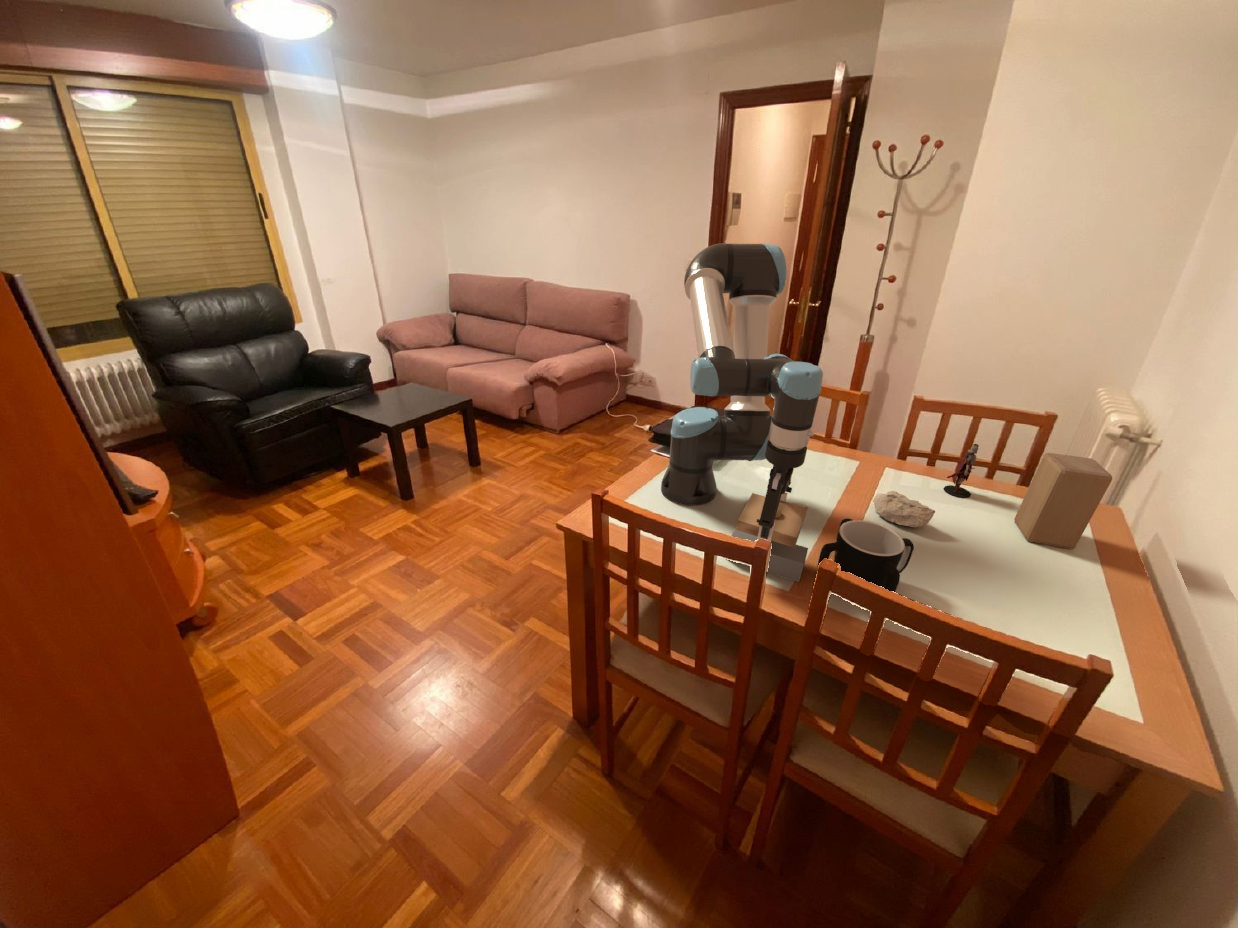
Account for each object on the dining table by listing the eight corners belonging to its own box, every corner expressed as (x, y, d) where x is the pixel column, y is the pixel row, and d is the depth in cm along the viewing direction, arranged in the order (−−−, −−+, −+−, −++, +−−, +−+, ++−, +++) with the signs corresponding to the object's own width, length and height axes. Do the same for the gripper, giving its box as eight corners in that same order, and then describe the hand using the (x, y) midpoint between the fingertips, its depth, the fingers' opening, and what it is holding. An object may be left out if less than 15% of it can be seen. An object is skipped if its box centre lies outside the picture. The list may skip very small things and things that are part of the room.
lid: (736, 530, 105) (738, 516, 103) (750, 502, 114) (753, 489, 112) (794, 547, 100) (798, 533, 98) (805, 516, 109) (808, 503, 108)
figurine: (971, 500, 136) (991, 451, 129) (940, 493, 139) (958, 445, 132) (970, 489, 141) (989, 442, 134) (940, 483, 144) (958, 436, 137)
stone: (898, 542, 125) (929, 522, 117) (863, 503, 130) (890, 481, 122) (912, 532, 129) (943, 512, 122) (877, 495, 134) (905, 473, 127)
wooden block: (1058, 528, 125) (1094, 457, 116) (1075, 551, 117) (1116, 477, 107) (1011, 520, 128) (1043, 450, 119) (1025, 542, 120) (1061, 469, 110)
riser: (725, 559, 112) (728, 541, 110) (733, 544, 117) (736, 527, 115) (799, 582, 106) (803, 563, 103) (803, 566, 110) (808, 548, 108)
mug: (837, 549, 116) (849, 505, 111) (910, 582, 106) (928, 537, 101) (803, 581, 106) (815, 535, 100) (881, 622, 96) (898, 573, 90)
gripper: (795, 475, 87) (774, 570, 97) (817, 424, 105) (797, 508, 116) (752, 464, 90) (737, 558, 100) (781, 416, 108) (765, 499, 119)
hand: (769, 531), depth 108 cm, fingers closed on lid, 12 cm apart
